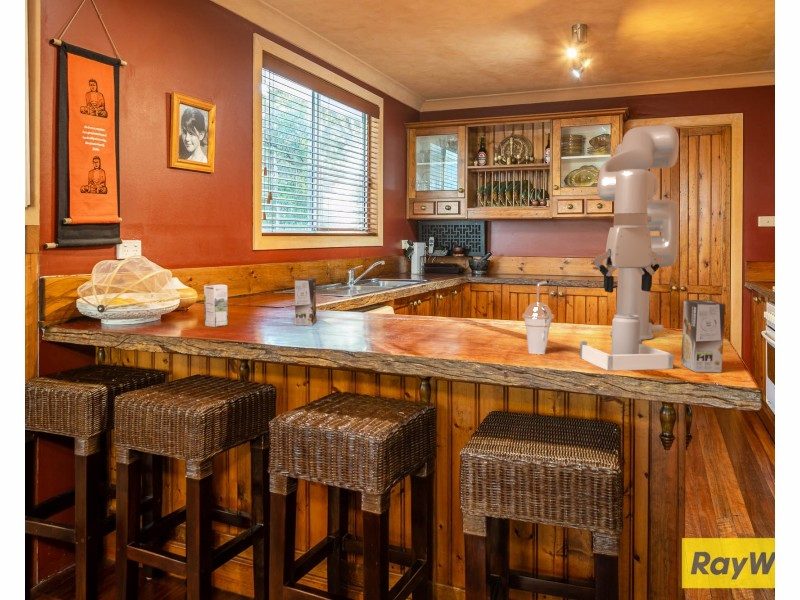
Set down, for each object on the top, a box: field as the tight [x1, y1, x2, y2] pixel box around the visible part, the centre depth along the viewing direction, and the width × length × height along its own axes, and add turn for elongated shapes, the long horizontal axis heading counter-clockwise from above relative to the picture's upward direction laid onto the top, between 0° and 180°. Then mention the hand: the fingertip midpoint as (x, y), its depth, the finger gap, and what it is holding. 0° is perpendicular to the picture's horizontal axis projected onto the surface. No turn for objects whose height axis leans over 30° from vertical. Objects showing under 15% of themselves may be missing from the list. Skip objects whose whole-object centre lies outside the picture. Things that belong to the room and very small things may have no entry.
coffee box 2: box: [680, 299, 726, 374], centre depth 142 cm, size 9×6×16 cm
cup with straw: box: [521, 279, 555, 355], centre depth 160 cm, size 8×9×20 cm
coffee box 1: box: [294, 278, 317, 327], centre depth 215 cm, size 9×6×16 cm
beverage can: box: [610, 314, 640, 355], centre depth 148 cm, size 6×6×12 cm
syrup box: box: [203, 283, 229, 328], centre depth 210 cm, size 6×6×14 cm
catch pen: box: [579, 340, 674, 372], centre depth 149 cm, size 16×15×4 cm
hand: (627, 291), depth 148 cm, fingers open, 9 cm apart
